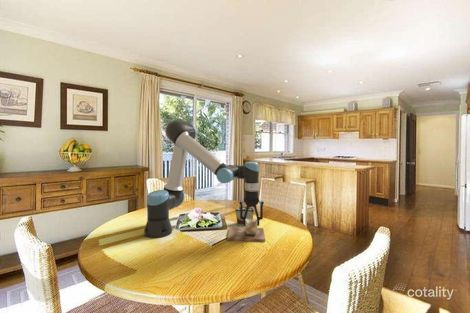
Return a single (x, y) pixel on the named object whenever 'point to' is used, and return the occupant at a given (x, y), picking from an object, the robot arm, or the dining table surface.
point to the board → (245, 235)
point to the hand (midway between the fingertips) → (251, 231)
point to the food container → (249, 214)
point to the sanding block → (251, 226)
